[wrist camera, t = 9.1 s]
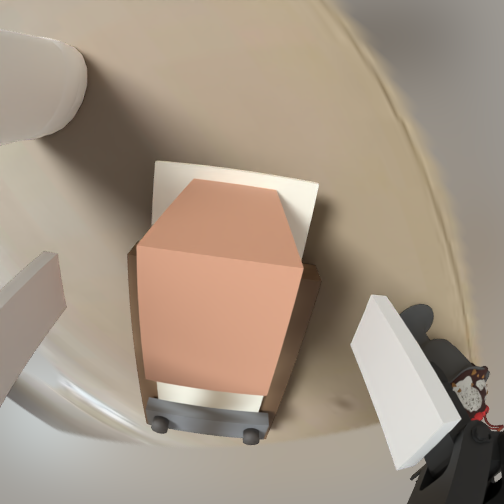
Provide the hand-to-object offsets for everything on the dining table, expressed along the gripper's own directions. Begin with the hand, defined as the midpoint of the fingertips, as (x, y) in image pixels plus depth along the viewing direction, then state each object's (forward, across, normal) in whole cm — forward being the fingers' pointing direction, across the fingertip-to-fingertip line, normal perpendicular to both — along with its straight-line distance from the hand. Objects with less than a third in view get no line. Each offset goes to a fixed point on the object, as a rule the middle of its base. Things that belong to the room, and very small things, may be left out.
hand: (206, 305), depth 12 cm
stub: (+9, 0, 0) cm, 9 cm away
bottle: (+12, +16, -9) cm, 21 cm away
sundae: (+11, -20, +8) cm, 24 cm away
